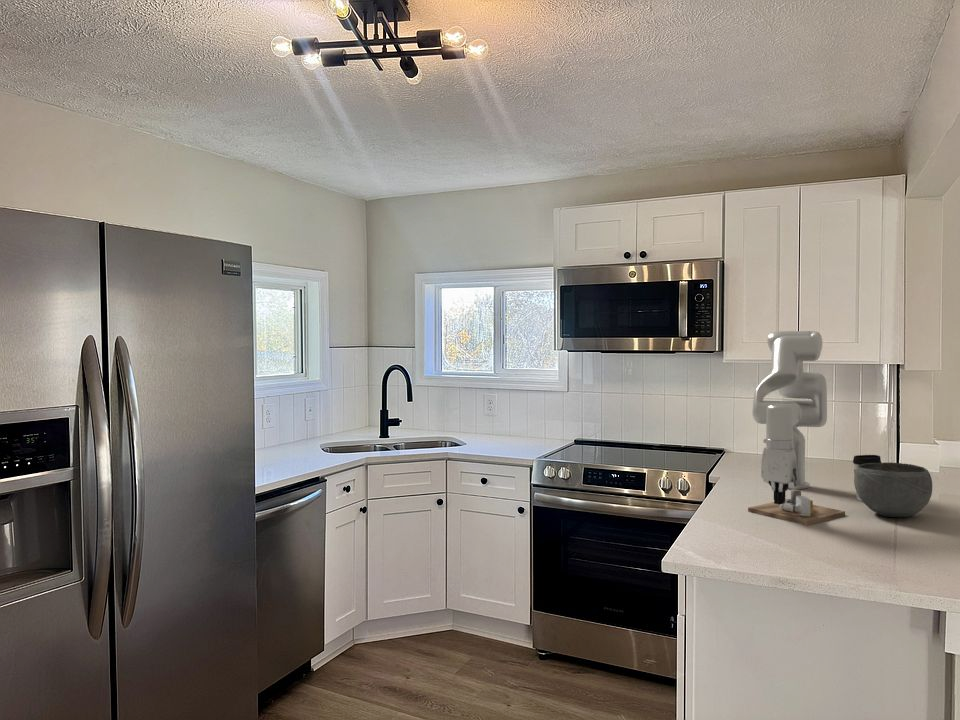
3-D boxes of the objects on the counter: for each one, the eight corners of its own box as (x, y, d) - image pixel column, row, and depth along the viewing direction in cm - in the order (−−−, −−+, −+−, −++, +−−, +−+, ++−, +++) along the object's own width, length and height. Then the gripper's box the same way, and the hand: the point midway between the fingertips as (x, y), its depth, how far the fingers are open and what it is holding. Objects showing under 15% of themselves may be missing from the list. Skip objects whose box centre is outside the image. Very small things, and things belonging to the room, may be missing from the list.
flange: (789, 515, 212) (789, 499, 212) (776, 504, 226) (776, 489, 226) (822, 516, 211) (822, 499, 210) (806, 505, 225) (806, 489, 224)
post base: (747, 511, 224) (747, 488, 223) (786, 502, 234) (786, 481, 234) (806, 525, 207) (806, 500, 207) (845, 515, 218) (845, 492, 217)
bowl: (922, 509, 224) (922, 462, 223) (941, 526, 204) (942, 474, 204) (848, 504, 231) (849, 459, 230) (860, 521, 211) (860, 471, 210)
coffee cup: (885, 503, 232) (885, 458, 232) (857, 502, 234) (857, 457, 233) (876, 497, 240) (876, 453, 240) (849, 496, 242) (849, 453, 242)
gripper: (750, 442, 222) (750, 500, 222) (794, 449, 209) (794, 510, 210) (765, 440, 226) (765, 496, 227) (809, 446, 213) (809, 506, 214)
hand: (779, 503), depth 218 cm, fingers closed
